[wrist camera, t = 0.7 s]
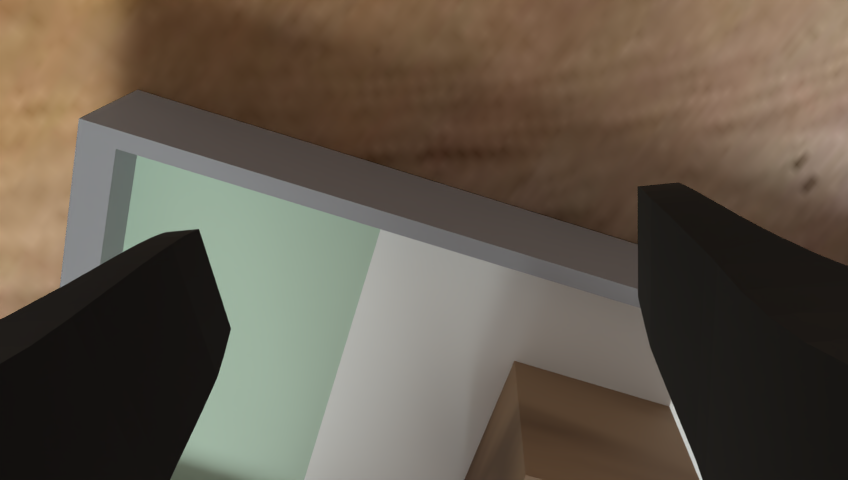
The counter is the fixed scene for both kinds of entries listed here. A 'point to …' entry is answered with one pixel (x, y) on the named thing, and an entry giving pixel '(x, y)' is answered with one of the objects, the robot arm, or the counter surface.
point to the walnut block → (577, 433)
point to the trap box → (353, 294)
